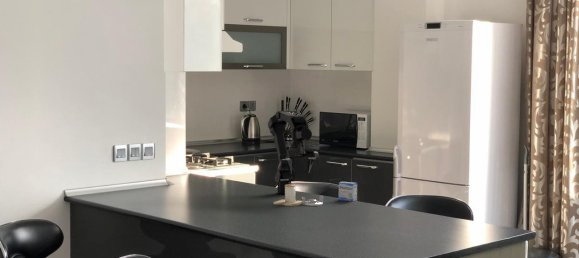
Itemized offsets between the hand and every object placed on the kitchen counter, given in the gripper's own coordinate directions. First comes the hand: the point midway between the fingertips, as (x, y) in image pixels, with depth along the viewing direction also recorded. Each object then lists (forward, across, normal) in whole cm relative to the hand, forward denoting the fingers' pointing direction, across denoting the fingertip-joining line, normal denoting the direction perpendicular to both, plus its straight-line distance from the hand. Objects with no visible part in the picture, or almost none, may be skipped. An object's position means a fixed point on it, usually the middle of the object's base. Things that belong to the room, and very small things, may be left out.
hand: (299, 173), depth 387 cm
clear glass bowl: (+14, +10, -9) cm, 20 cm away
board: (+14, -1, -13) cm, 19 cm away
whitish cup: (+13, 0, -14) cm, 19 cm away
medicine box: (+14, +21, +8) cm, 26 cm away
